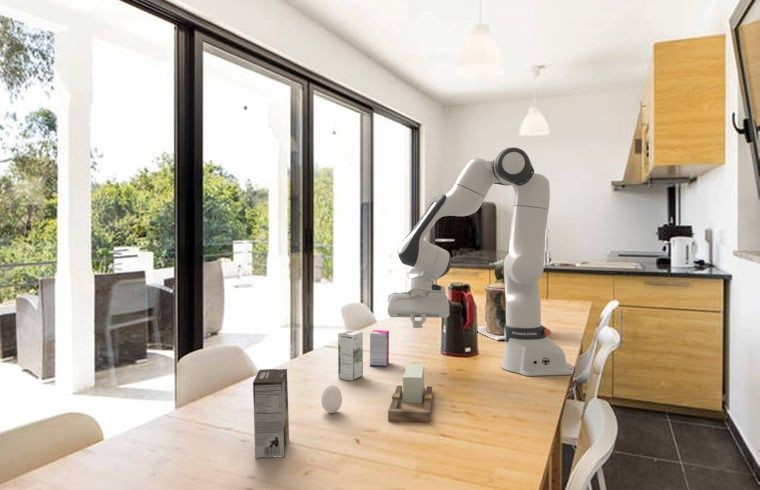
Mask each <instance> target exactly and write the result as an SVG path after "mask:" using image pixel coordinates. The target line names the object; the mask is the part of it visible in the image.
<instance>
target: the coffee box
mask: <svg viewBox="0 0 760 490" xmlns="http://www.w3.org/2000/svg"><path fill="white" fill-rule="evenodd" d="M252 390H253V391H252V392H253V394H252V395H253V427H254V428H253V429H254V431H253V432H254V433H253V434H254V437H253V438H254V458H255V459H259V458H258V457H274V456H276V457H275V458H278V457H277V456H284V455H285V456H286V453H287V450H286V449H287V448H288V444H289V440H290V426H289V425H290V421H289V396H288V395H289V394H288V393H289V391H288V390H289V389H288V368H283V369H282V368H280V369H278V368H266V369H259V370H258V372H257V374H256V375H255V377H254V380H253V382H252Z"/></svg>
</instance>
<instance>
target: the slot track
mask: <svg viewBox="0 0 760 490" xmlns="http://www.w3.org/2000/svg"><path fill="white" fill-rule="evenodd" d="M391 395H392V396H391V399H392V400H391V403H390V406H389V408H388V409H387V421H388V422H400V421H405V422H404V423H425V422H426V423H428V424H429V423H430V420H431V419H430V418H431V411H432V409H431V408H432V400H433V386H429V385H428V386H426V391H425V394H424V396H423V398H424V405H423V409H410V408H409V409H408V408H405V409H404V408H399V407H400V406H399V405H400V402H401V398H402V397H403V385H396V388H395V389H394V393H392V394H391Z"/></svg>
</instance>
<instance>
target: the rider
mask: <svg viewBox="0 0 760 490" xmlns="http://www.w3.org/2000/svg"><path fill="white" fill-rule="evenodd" d="M424 391H425V364H406V367H405V369H404V371H403V376H402V399H403V403H409V404H412V403H414V404H422V403H423V398H424Z"/></svg>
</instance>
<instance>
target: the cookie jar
mask: <svg viewBox="0 0 760 490" xmlns="http://www.w3.org/2000/svg"><path fill="white" fill-rule="evenodd" d="M494 277H495V281H494V282H492V283H491V284H488V285H487V284H486V285H484V291H485V292H486V295H485V305H484V321H485V322H486V325H479V326H478V325H477V326H478V332H477V333H479V334H480V333H481V334H480V335H482V334H483V335H482V336H484V335H486V336H485V337H487V336H488V337H487V338H489V337H490V338H489V339H491V338H492V340H493V339H495V340H494V341H496V340H498V341H500V340H501V341H502V340H504V341H505V339H504V328H505V324H506V298H505V282H504V262H503V263H500V264H497V265H496V266H495V268H494Z"/></svg>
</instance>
